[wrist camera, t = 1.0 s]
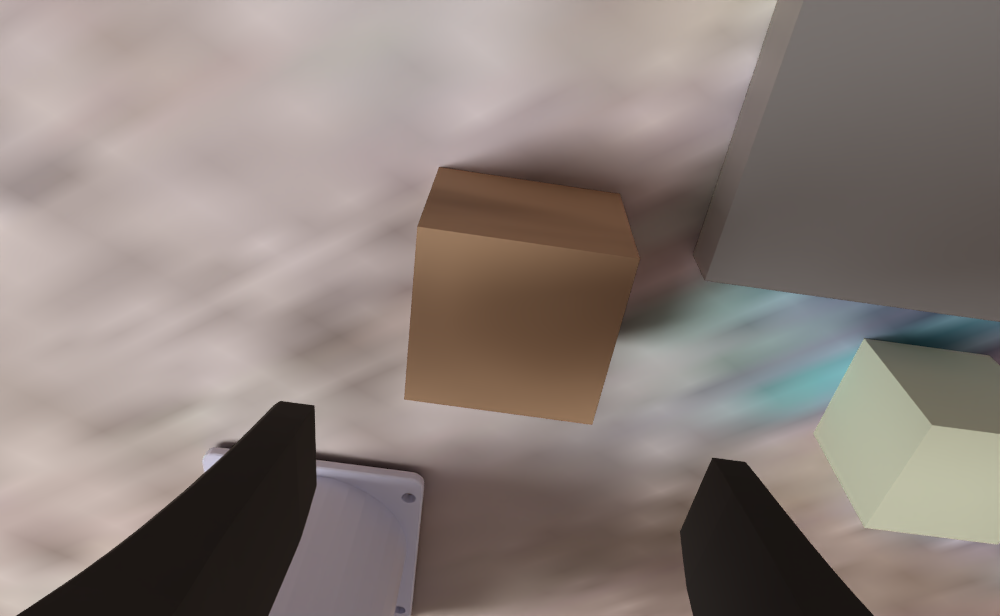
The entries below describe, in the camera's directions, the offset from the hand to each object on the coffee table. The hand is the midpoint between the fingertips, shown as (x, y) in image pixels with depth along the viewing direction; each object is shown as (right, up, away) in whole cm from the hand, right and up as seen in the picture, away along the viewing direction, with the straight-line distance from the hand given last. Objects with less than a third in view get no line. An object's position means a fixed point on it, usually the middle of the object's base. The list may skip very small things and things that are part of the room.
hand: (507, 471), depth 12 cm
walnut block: (0, +4, +7) cm, 9 cm away
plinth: (+10, +8, +4) cm, 14 cm away
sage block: (+13, 0, +9) cm, 16 cm away
